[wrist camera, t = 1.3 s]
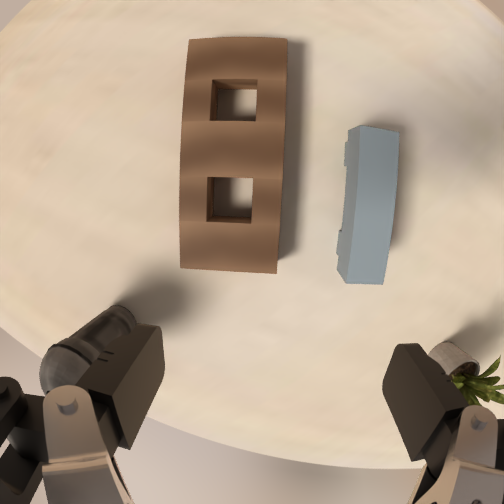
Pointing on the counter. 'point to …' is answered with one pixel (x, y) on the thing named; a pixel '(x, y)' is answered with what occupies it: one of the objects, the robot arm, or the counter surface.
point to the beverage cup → (83, 348)
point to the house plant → (468, 374)
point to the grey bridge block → (368, 204)
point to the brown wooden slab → (232, 153)
